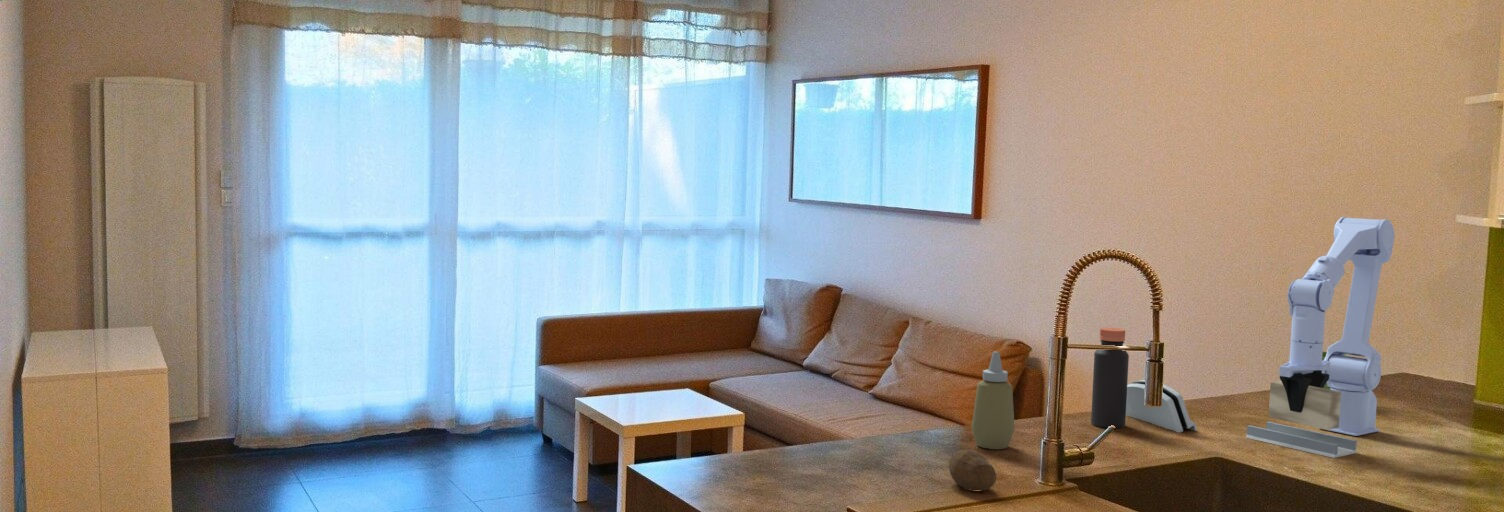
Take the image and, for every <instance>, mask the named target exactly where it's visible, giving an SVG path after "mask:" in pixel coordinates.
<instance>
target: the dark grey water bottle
mask: <svg viewBox="0 0 1504 512" xmlns="http://www.w3.org/2000/svg"><path fill="white" fill-rule="evenodd" d="M1099 331H1100V333H1099V342H1100V344H1101V345H1115V346H1123V347H1124V344H1125V341H1126V330H1125V329H1124V328H1118V327H1101V328H1100V330H1099ZM1101 345H1100V346H1101ZM1129 355H1130V354H1129V353H1128V351H1126V350H1125V351H1122V350H1097V349H1096V350H1095V351H1094V358H1093V373H1092V374H1093V375H1092V376H1093V377H1092V391H1091V392H1092V393H1091V394H1092V396H1091V417H1090V422H1091V424H1092V425H1093V426H1095V427H1099V428H1104V429H1108V428H1107V427H1108V426H1111V425H1114V426H1115V427H1116V428H1115V429H1123V428H1124V427H1125V426H1126V420H1127V419H1126V417H1127V415H1126V400H1127V385H1128V380H1129V379H1128V377H1129V360H1130V359H1129V357H1130V356H1129Z"/></svg>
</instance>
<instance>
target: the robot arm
mask: <svg viewBox="0 0 1504 512" xmlns="http://www.w3.org/2000/svg"><path fill="white" fill-rule="evenodd" d="M1333 239H1334V240H1333V243H1332V244H1331V246H1330V247H1329V250H1328V252H1327V253H1326V255H1322V256H1319V257H1318V258H1316V259H1315V261H1314V262H1313V263H1312V265H1311V266H1310V268H1309V269H1308V270H1307V271H1306V273H1305V274H1304V276H1303V277H1302V278H1298V279H1295V280H1294V281H1292V282H1291V283H1290V286H1288V288H1289V289H1288V292H1287V303H1288V306H1289V312H1288V313H1289V316H1290V317H1291V329H1290V330H1291V333H1290V346H1289V359H1288V362H1286V363H1284V364H1282V365H1279V370H1278V371H1279V372H1278V376H1279V381H1282V383H1283V385H1284V388H1285V391H1286V394H1287V398H1288V403H1289V408H1290V411H1294V412H1299V413H1300V412H1302V410H1303V406H1304V401H1305V395H1306V392H1307V389H1308V386H1313V387H1319V388H1323V387H1324V385H1325V384H1326V382H1327V386H1329V387H1331V388H1330V390H1335V391H1340V392H1341V402H1340V415H1339V428H1335V429H1330V430H1328V431H1330V432H1335V433H1339V434H1343V435H1348V436H1349V435H1350V436H1354V437H1356V436H1357V437H1358V436H1363V435H1368V434H1372V433H1376V432H1377V433H1378V432H1380V428H1376V421H1377V419H1376V418H1377V407H1378V401H1377V396H1376V395H1375V393H1374V392H1373V391H1374V389H1376V387H1378V385H1379V383H1380V382H1381V378H1382V377H1381V376H1382V367H1381V365H1382V356H1381V354H1380V353H1379V351H1378V350H1377V349H1376V348H1375V347H1374V346H1372V345H1371V344H1370V343H1369V341H1370V336H1371V329H1372V323H1373V318H1374V313H1375V312H1374V311H1375V305H1376V301H1377V300H1376V299H1377V293H1378V288H1379V282H1380V276H1381V271H1382V266H1383V264H1385V263H1388V262H1389V261H1391V256H1392V254H1393V248H1394V243H1395V229H1394V225H1393V224H1392V222H1391V220H1389V219H1388V218H1387V219H1386V218H1384V219H1376V218H1374V219H1372V218H1358V217H1357V218H1356V217H1355V218H1354V217H1346V216H1342V217H1340V218H1339V219H1337V221H1336V223H1335V225H1334V227H1333ZM1349 261H1351V262H1352V263H1353V266H1354V267H1353V271H1352V277H1351V282H1350V283H1351V284H1350V290H1349V296H1348V302H1347V307H1346V311H1345V313H1346V314H1345V319H1344V324H1343V330H1342V337H1341V339H1340V340H1338V341H1336V342H1335V343H1333V344H1331V345H1329V346H1328V348H1327V349H1326V352H1327V354H1326V357H1325V359H1324V361H1323V360H1322V353H1323V351H1324V333H1325V321H1326V311H1327V310H1329V308H1330V307H1331V305H1332V302H1333V297H1334V295H1335V292H1336V290H1335V288H1336V287H1337V285H1338V284H1339V282H1340V281H1341V280H1342V279H1343V276H1344V275H1345V273H1346V272H1345V271H1346V270H1345V269H1346V268H1345V265H1346V264H1347V262H1349ZM1343 355H1349V356H1343ZM1350 356H1351V357H1350Z"/></svg>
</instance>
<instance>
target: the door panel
mask: <svg viewBox="0 0 1504 512" xmlns="http://www.w3.org/2000/svg"><path fill="white" fill-rule="evenodd" d="M1269 387H1270V389H1269V402H1268V415H1267V416H1268V418H1271V419H1274V420H1279V421H1284V422H1287V423H1293V424H1298V425H1302V426H1308V427H1311V428H1316V429H1320V430H1325V431H1329V430H1330V429H1335V428H1339V415H1340V402H1341V392H1340V391H1335V390H1329V389H1324V388H1319V387H1313V386H1308V389H1307V392H1306V395H1305V401H1304V406H1303V410H1302V412H1300V413H1299V412H1294V411H1290V408H1289V403H1288V398H1287V394H1286V391H1285V388H1284V385H1283V383H1282V381H1281V380H1278V381H1272V382H1271V381H1270V386H1269Z"/></svg>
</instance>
